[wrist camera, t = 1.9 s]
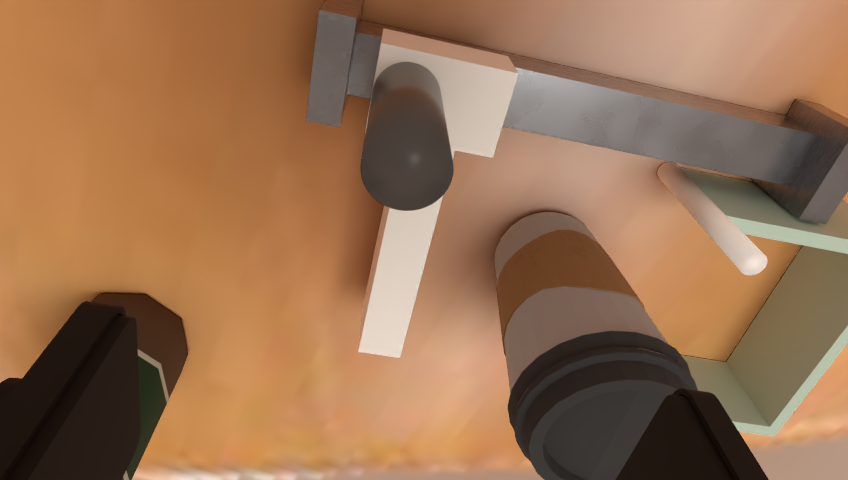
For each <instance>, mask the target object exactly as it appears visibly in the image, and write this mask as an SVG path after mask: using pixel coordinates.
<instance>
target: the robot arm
mask: <svg viewBox="0 0 848 480" xmlns="http://www.w3.org/2000/svg"><path fill="white" fill-rule="evenodd" d="M140 433H141V419H140V394H139V369H138V344H137V323H136V319H135V318H133V317H127V316H126V311H125V309H124V307H121V306H115V305H108V304H101V303H94V302H87V301H86V302H83V303H82V304H81V305H80V306H79V307H78V308H77V309H76V310H75V312H74V313H73V314H72V315H71V317H70V318H69V319H68V321H67V322H66V323H65V324H64V326H63V327H62V328H61V330H60V331H59V332H58V333H57V335H56V336H55V337H54V339H53V340H52V341H51V342H50V344H49V345H48V346H47V348H46V349H45V350H44V351H43V353H42V354H41V355H40V357H39V358H38V359H37V360H36V362H35V363H34V364H33V366H32V367H31V368H30V369H29V371H28V372H27V373H26V374H25V376H24V377H23V378H22V379H20V378H8V379H6V380H4V381H3V382H1V383H0V480H122V478H123V476H124V474H125V472H126V470H127V468H128V466H129V464H130V462H131V459H132V457H133V455H134V453H135V451H136V448H137V445H138V442H139V438H140ZM616 480H768V478H767V477H766V475H765V473H764V472H763V470H762V469H761V467H760V465H759V463H758V462H757V460H756V459H755V457H754V455H753V454H752V452H751V451H750V449H749V447H748V446H747V444H746V443H745V441H744V439H743V438H742V436H741V435H740V433H739V431H738V430H737V428H736V427H735V425H734V423H733V422H732V420H731V419H730V417H729V415H728V414H727V412H726V411H725V409H724V407H723V406H722V404H721V403H720V401H719V399H718V398H717V397H716V396H715V395H714V394H712V393H710V392H704V391H698V390H691V389H683V388H679V389H677V390H676V391H675V392H674V393H673V394H672V395H668V396H666V398H665V399H664V400H663V402H662V403H661V405H660V407H659V408H658V410H657V412H656V413H655V415H654V417H653V418H652V420H651V422H650V423H649V425H648V427H647V428H646V430H645V432H644V433H643V435H642V437H641V438H640V440H639V442H638V443H637V445H636V447H635V448H634V450H633V452H632V453H631V455H630V457H629V458H628V460H627V461H626V463H625V465H624V466H623V468H622V470H621V471H620V473H619V475H618V476H617V478H616Z"/></svg>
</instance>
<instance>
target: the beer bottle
mask: <svg viewBox="0 0 848 480" xmlns="http://www.w3.org/2000/svg"><path fill="white" fill-rule="evenodd" d="M92 302H94V303H101V304H108V305H115V306H121V307H124V309H125V311H126V316H127V317H133V318H135V319H136V323H137V344H138V369H139V394H140V419H141V433H140V438H139V442H138V445H137V448H136V451H135V453H134V455H133V457H132V459H131V462H130V464H129V466H128V468H127V470H126V472H125V474H124V476H123V478H122V480H132V477H133V475H134V473H135V471H136V469H137V467H138V464H139V462H140V460H141V458H142V456H143V454H144V452H145V449H146V447H147V445H148V443H149V441H150V439H151V436H152V434H153V432H154V430H155V428H156V426H157V424H158V421H159V419H160V417H161V415H162V413H163V411H164V408H165V406H166V404H167V402H168V400H169V398H170V395H171V393H172V391H173V389H174V387H175V385H176V383H177V380H178V378H179V376H180V374H181V372H182V369H183V366H184V364H185V361H186V358H187V355H188V351H187V346H186V341H185V336H184V331H183V326H182V321H181V318H180V317H178V316H177V315H175V314H174V313H172V312H171V311H169V310H168V309H166V308H165V307H164V306H162V305H161V304H159V303H158V302H156V301H155V300H153V299H152V298H150V297H149V296H148V295H146V294H113V293H102V294H99V295H98V296H97V297H96V298H95V299H94V300H93V301H92Z"/></svg>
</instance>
